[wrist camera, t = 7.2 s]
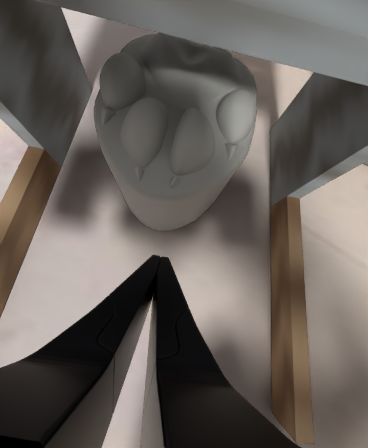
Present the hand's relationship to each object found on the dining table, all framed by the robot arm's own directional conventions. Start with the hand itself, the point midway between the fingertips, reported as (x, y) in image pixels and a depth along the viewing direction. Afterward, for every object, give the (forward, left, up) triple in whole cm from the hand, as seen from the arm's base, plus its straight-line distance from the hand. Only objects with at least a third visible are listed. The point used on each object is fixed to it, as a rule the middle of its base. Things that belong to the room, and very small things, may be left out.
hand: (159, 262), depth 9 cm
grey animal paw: (+10, 0, -7) cm, 12 cm away
